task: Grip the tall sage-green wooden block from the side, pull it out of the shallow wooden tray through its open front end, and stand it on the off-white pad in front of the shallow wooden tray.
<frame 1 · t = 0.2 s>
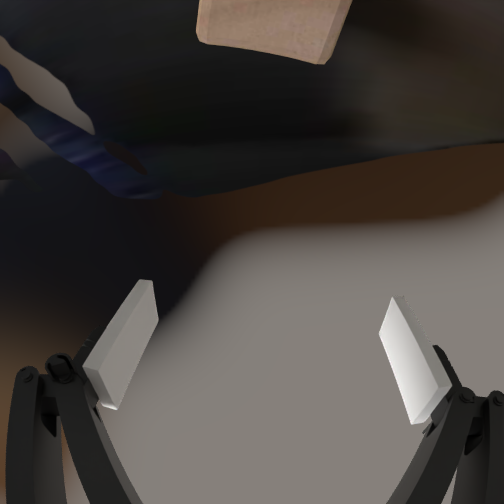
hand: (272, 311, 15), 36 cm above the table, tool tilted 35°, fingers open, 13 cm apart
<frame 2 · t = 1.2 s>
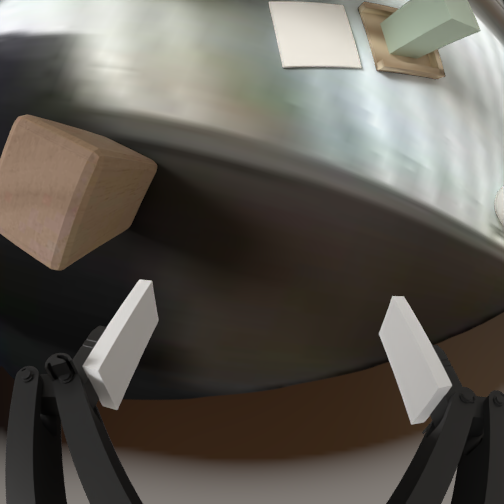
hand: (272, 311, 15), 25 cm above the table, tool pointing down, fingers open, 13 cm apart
lidded jar: (500, 203, 43), on the table
shallow wooden tray: (397, 42, 34), on the table
tall block: (399, 41, 33), point 1 cm above the table, touching shallow wooden tray
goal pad: (315, 33, 33), on the table
block: (115, 182, 36), on the table
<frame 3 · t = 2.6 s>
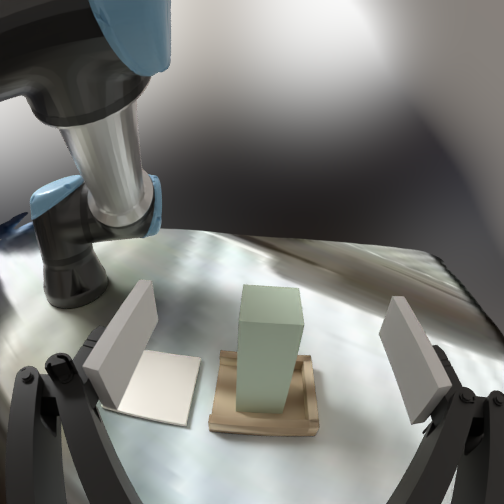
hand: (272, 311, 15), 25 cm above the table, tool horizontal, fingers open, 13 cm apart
shallow wooden tray: (259, 397, 36), on the table
tall block: (259, 394, 36), point 1 cm above the table, touching shallow wooden tray
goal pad: (153, 384, 37), on the table
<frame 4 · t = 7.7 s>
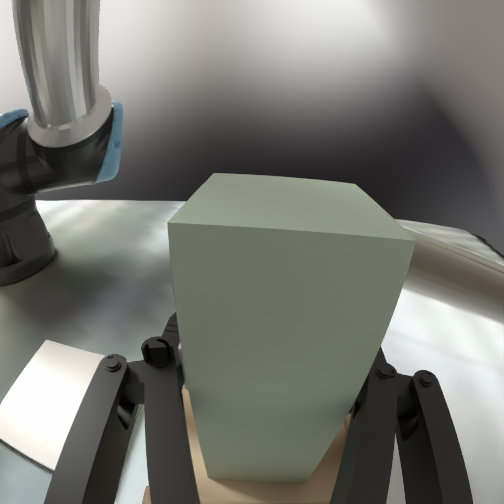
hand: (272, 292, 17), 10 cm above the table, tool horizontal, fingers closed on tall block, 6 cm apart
shallow wooden tray: (258, 447, 16), on the table
tall block: (259, 443, 16), point 1 cm above the table, touching gripper, shallow wooden tray
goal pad: (67, 406, 17), on the table
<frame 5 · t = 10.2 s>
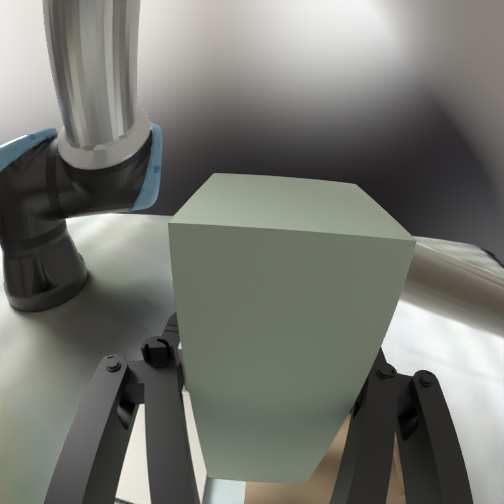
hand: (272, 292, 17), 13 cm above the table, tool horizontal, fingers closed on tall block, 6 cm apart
shallow wooden tray: (323, 460, 18), on the table
tall block: (259, 443, 16), point 4 cm above the table, touching gripper
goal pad: (139, 441, 19), on the table
when the fingers open (11 cm above the table, at t = 13.0 s): tall block drops 1 cm, resting on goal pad.
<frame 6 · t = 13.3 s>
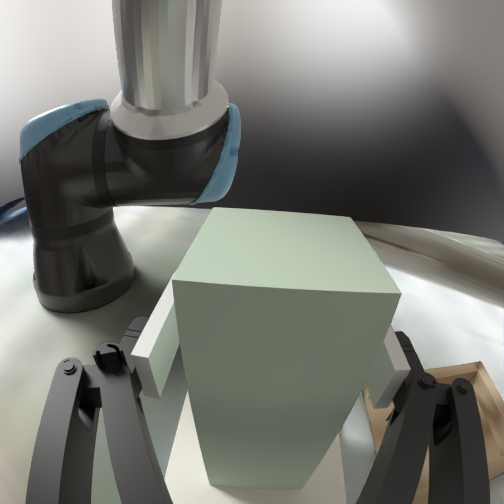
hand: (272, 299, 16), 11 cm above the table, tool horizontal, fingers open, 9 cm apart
shallow wooden tray: (436, 438, 17), on the table
tall block: (258, 452, 17), point 1 cm above the table, touching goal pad
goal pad: (257, 455, 17), on the table
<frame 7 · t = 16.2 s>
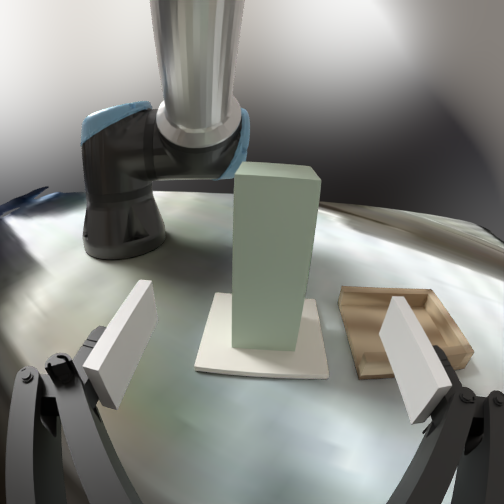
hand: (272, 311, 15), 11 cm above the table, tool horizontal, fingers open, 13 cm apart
shallow wooden tray: (395, 335, 29), on the table
tall block: (264, 329, 29), point 1 cm above the table, touching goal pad
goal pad: (263, 333, 30), on the table
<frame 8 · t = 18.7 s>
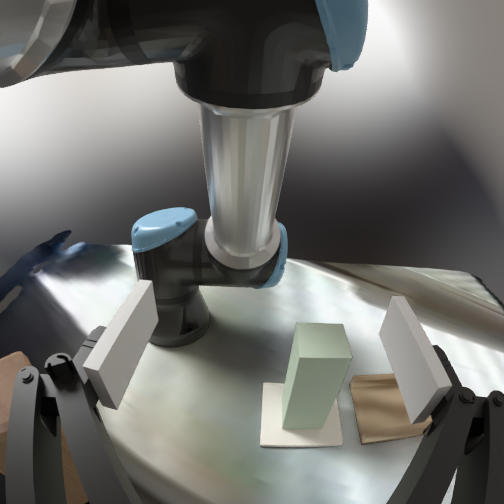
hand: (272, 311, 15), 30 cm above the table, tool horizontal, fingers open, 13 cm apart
shallow wooden tray: (388, 409, 39), on the table
tall block: (301, 413, 39), point 1 cm above the table, touching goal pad
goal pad: (300, 414, 40), on the table
block: (73, 477, 25), on the table
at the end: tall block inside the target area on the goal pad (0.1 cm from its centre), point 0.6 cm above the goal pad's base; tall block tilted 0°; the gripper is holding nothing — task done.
